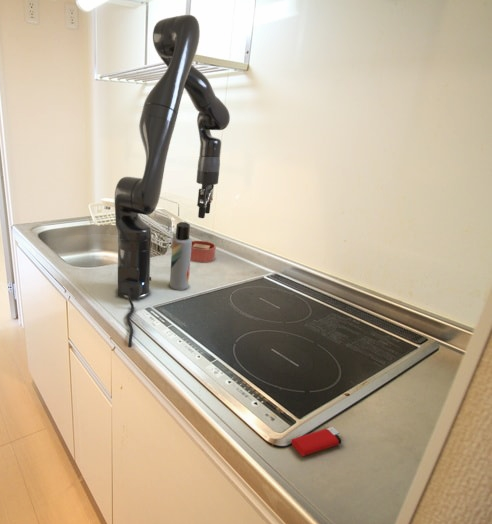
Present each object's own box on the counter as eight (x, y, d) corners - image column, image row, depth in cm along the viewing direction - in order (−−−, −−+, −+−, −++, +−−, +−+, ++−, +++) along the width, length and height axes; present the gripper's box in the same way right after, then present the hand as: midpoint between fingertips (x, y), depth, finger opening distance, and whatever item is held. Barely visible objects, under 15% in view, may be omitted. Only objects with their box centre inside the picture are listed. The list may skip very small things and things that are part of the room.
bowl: (211, 264, 131) (212, 251, 129) (182, 259, 134) (183, 246, 132) (216, 255, 140) (218, 242, 138) (190, 251, 143) (191, 239, 142)
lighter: (292, 437, 57) (331, 425, 59) (290, 443, 57) (329, 430, 60) (305, 451, 54) (345, 438, 57) (303, 457, 54) (344, 444, 57)
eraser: (209, 255, 137) (210, 245, 136) (207, 258, 134) (208, 248, 132) (193, 253, 139) (194, 243, 138) (191, 256, 136) (192, 246, 134)
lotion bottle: (187, 283, 114) (192, 221, 107) (188, 290, 109) (193, 226, 102) (169, 282, 114) (173, 220, 107) (169, 289, 109) (173, 225, 102)
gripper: (202, 167, 133) (198, 210, 139) (192, 170, 121) (188, 218, 126) (222, 168, 130) (217, 213, 136) (215, 172, 118) (210, 220, 124)
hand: (203, 215), depth 131 cm, fingers open, 8 cm apart
